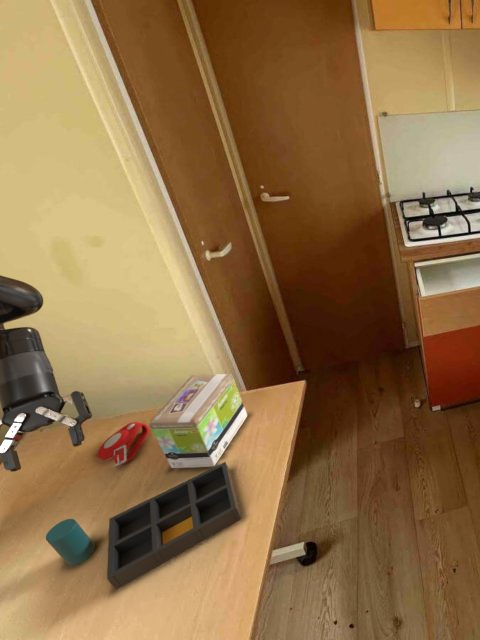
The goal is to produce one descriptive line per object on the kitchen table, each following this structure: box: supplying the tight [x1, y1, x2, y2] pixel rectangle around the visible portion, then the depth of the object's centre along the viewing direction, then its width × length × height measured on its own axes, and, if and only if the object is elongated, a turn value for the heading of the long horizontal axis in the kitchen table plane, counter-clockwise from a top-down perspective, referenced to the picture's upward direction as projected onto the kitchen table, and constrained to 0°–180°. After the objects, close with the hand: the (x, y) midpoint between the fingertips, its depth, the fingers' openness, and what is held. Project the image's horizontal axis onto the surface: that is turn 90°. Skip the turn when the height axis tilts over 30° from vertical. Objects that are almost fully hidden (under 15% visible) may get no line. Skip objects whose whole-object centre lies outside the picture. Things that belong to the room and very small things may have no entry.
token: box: [45, 518, 96, 567], centre depth 78 cm, size 4×4×8 cm
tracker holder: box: [96, 421, 150, 468], centre depth 100 cm, size 12×4×10 cm
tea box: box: [148, 373, 248, 469], centre depth 99 cm, size 15×10×15 cm
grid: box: [106, 461, 242, 590], centre depth 84 cm, size 20×13×4 cm
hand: (48, 457), depth 81 cm, fingers open, 8 cm apart
